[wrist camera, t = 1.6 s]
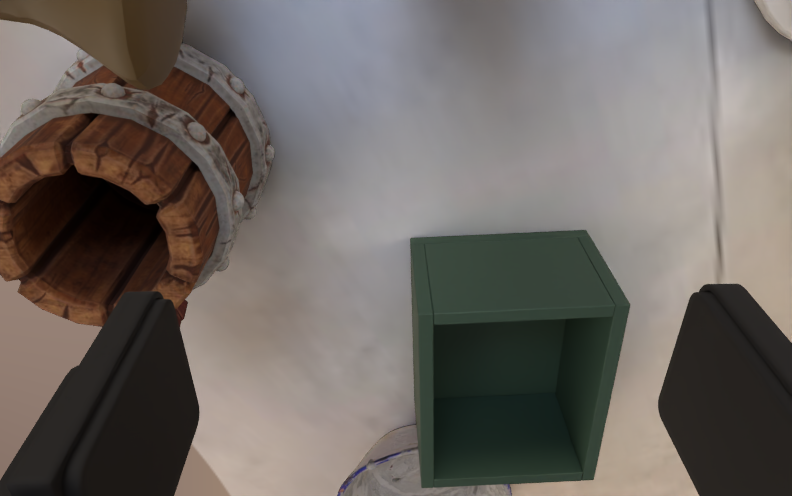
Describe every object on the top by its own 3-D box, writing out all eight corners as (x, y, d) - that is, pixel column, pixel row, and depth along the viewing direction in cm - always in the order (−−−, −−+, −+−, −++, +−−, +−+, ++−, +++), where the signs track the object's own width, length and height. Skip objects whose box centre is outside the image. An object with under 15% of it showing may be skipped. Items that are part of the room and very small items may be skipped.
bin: (586, 229, 38) (630, 304, 32) (561, 392, 46) (593, 480, 39) (410, 237, 38) (417, 314, 32) (414, 399, 46) (421, 488, 39)
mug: (269, 12, 31) (209, 189, 20) (291, 229, 40) (259, 432, 29) (31, 5, 30) (-171, 184, 19) (110, 227, 40) (7, 432, 29)
